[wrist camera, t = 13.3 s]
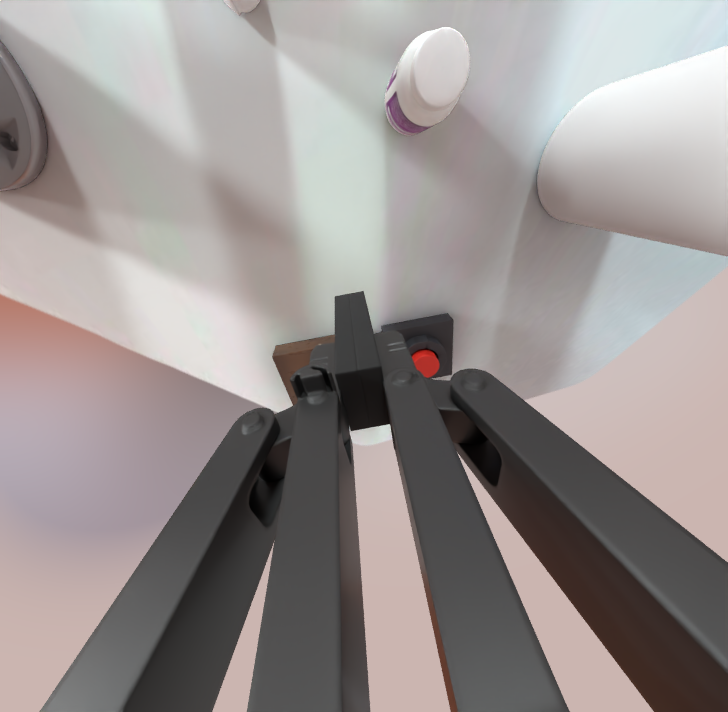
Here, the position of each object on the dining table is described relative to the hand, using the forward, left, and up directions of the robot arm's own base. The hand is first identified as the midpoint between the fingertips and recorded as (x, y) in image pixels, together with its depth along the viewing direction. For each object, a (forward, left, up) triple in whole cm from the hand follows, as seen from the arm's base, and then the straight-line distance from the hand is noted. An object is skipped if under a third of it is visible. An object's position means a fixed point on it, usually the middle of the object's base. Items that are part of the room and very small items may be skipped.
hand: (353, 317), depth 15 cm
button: (+8, -18, -19) cm, 27 cm away
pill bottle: (+9, +11, -23) cm, 27 cm away
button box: (+8, -18, -22) cm, 30 cm away
